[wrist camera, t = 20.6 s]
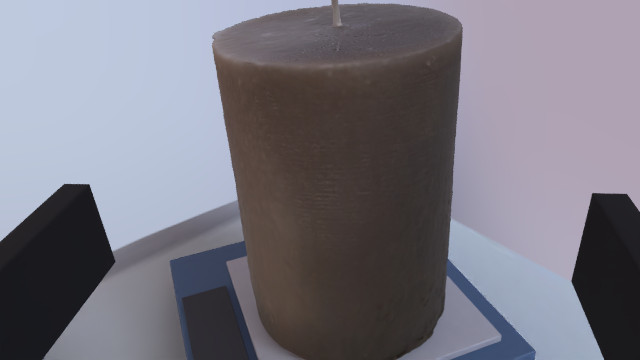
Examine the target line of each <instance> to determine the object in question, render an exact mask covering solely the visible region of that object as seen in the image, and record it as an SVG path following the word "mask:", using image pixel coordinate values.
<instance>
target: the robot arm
mask: <svg viewBox="0 0 640 360" xmlns="http://www.w3.org/2000/svg"><path fill="white" fill-rule="evenodd" d="M114 263H115V259H114V256H113V253H112V250H111V247H110V244H109V241H108V238H107V235H106V232H105V229H104V227H103V224H102V221H101V218H100V215H99V212H98V209H97V206H96V203H95V200H94V197H93V194H92V191H91V188H90V185H89V184H64V185H63V186H62V187H60V189H58V190H57V191H56V192H55V193H54V194H53V195H52V196H51V197H49V198H48V199H47V200H46V201H45V202H44V203H43V204H42V205H40V206H39V207H38V208H37V209H36V210H35V211H34V212H33V213H32V214H31V215H29V216H28V217H27V218H26V219H25V220H24V221H23V222H22V223H21V224H20V225H18V226H17V227H16V228H15V229H14V230H13V231H12V232H10V233H9V234H8V235H7V236H6V237H5V238H4V239H3V240H2V241H1V242H0V360H42V359H43V358H44V356H45V355H46V354H47V352H48V351H49V350H50V348H51V347H52V346H53V344H54V343H55V342H56V340H57V339H58V338H59V336H60V335H61V334H62V332H63V331H64V330H65V328H66V327H67V326H68V324H69V323H70V322H71V320H72V319H73V318H74V316H75V315H76V314H77V312H78V311H79V310H80V308H81V307H82V306H83V304H84V303H85V302H86V300H87V299H88V298H89V296H90V295H91V294H92V292H93V291H94V290H95V288H96V287H97V286H98V284H99V283H100V282H101V280H102V279H103V278H104V276H105V275H106V274H107V272H108V271H109V270H110V268H111V267H112V266H113V264H114ZM572 284H573V286H574V289H575V291H576V293H577V296H578V298H579V301H580V303H581V305H582V308H583V310H584V312H585V315H586V317H587V320H588V322H589V324H590V327H591V329H592V331H593V334H594V336H595V339H596V341H597V343H598V346H599V348H600V351H601V353H602V355H603V358H604V360H640V212H639V210H638V209H637V207H636V206H635V205H634V203H633V202H632V200H631V199H630V198H629V196H628V195H627V194H600V193H593V194H592V197H591V202H590V206H589V210H588V214H587V218H586V222H585V227H584V231H583V235H582V240H581V244H580V248H579V252H578V256H577V260H576V264H575V268H574V273H573V277H572Z"/></svg>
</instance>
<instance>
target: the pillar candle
mask: <svg viewBox="0 0 640 360" xmlns="http://www.w3.org/2000/svg"><path fill="white" fill-rule="evenodd" d="M212 38H213V39H214V41H213V43H212V48H213V54H214V61H215V65H216V70H217V78H218V82H219V89H220V94H221V101H222V105H223V112H224V120H225V126H226V131H227V137H228V142H229V148H230V153H231V160H232V167H233V171H234V176H235V182H236V190H237V196H238V203H239V209H240V215H241V223H242V230H243V235H244V239H245V244H246V250H247V259H248V260H247V262H248V268H249V272H250V279H251V284H252V288H253V293H254V296H255V300H256V305H257V310H258V314H259V317H260V320H261V322H262V324H263V326H264V327H265V329H266V331H267V332H268V334H269V335H270V336H271V338H272V339H273V340H274V341H276V342H277V343H278V344H279V345H280V346H281V347H283V348H284V349H286V350H288V351H290V352H292V353H293V354H295V355H297V356H298V357H301V358H303V359H305V360H396V359H399V358H401V357H402V356H404V355H405V354H407V353H410V352H411V351H412V350H414V349H416V348H418V347H420V346H421V345H422V344H423V343H424V342H426V341H427V339H430V337H431V336H432V335H433V333H434V331H433V330H434V328H435V327H436V325H437V321H438V320H439V318H440V317H441V316H442V314H443V311H444V305H445V296H446V292H445V289H446V279H447V259H448V247H449V232H450V221H451V218H450V216H451V201H452V193H453V191H452V186H453V165H454V151H455V137H456V121H457V109H458V96H459V82H460V66H461V47H462V24H461V23H460V22H459V20H458V19H456V18H454V17H453V16H450V15H448V14H446V13H443V12H441V11H438V10H434V9H429V8H424V7H416V6H410V5H400V4H368V3H362V4H344V5H343V4H341V5H338V0H332V5H330V6H322V7H315V8H303V9H297V10H289V11H283V12H281V13H274V14H270V15H266V16H262V17H260V18H255V19H251V20H247V21H244V22H242V23H239V24H236V25H234V26H232V27H229V28H226V29H224V30H222V31H218V32H216V33H214V35H213V37H212Z"/></svg>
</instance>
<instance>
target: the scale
mask: <svg viewBox="0 0 640 360" xmlns="http://www.w3.org/2000/svg"><path fill="white" fill-rule="evenodd" d="M247 260H248V259H247V250H246V244H245V241H242V242H239V243H235V244H231V245H227V246H223V247H220V248H216V249H212V250H208V251H204V252H201V253H197V254H193V255H189V256H185V257H181V258H178V259H174V260H171V261H170V266H171V272H172V277H173V283H174V288H175V294H176V300H177V305H178V311H179V317H180V322H181V328H182V334H183V339H184V345H185V351H186V356H187V360H305V359H303V358H301V357H298V356H297V355H295V354H293V353H292V352H290V351H288V350H286V349H284V348H283V347H281V346H280V345H279V344H278V343H277V342H276V341H274V340H273V339H272V338H271V336H270V335H269V334H268V332H267V331H266V329H265V327H264V326H263V324H262V322H261V320H260V317H259V314H258V310H257V305H256V300H255V296H254V293H253V288H252V284H251V279H250V272H249V268H248V262H247ZM445 292H446V296H445V305H444V311H443V314H442V316H441V317H440V318H439V320H438V321H437V325H436V327H435V328H434V330H433V331H434V333H433V335H432V336H431V337H430V339H427V341H426V342H424V343H423V344H422V345H421V346H420V347H418V348H416V349H414V350H412V351H411V352H410V353H407V354H405V355H404V356H402V357H401V358H399V359H396V360H534V357H535V353H536V352H535V350H534V349H533V348H532V347H531V346H530V345H529V344H528V343H527V342H526V341H525V339H524V338H523V337H522V336H521V335H520V334H519V333H518V332H517V331H516V330H515V329H514V328H513V327H512V326H511V325H510V324H509V323H508V322H507V321H506V320H505V318H504V317H503V316H502V315H501V314H500V313H499V312H498V311H497V310H496V309H495V308H494V307H493V306H492V305H491V304H490V303H489V302H488V301H487V300H486V299H485V298H484V296H483V295H482V294H481V293H480V292H479V291H478V290H477V289H476V288H475V287H474V286H473V285H472V284H471V283H470V282H469V281H468V280H467V279H466V278H465V277H464V275H463V274H462V273H461V272H460V271H459V270H458V269H457V268H456V267H455V266H454V265H453V264H452V263H451V262H450V261H449V260H448V259H447V279H446V289H445Z"/></svg>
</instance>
